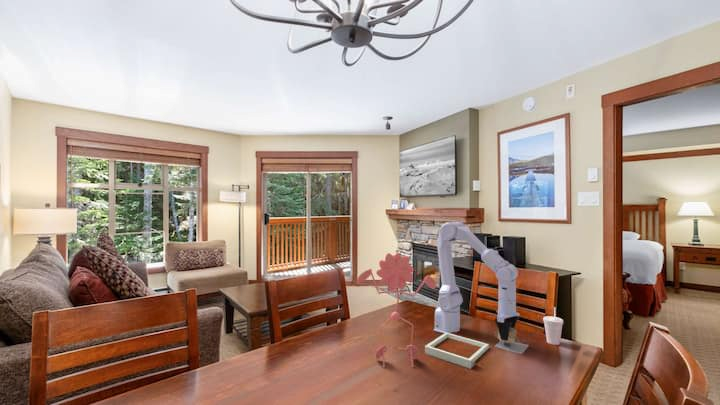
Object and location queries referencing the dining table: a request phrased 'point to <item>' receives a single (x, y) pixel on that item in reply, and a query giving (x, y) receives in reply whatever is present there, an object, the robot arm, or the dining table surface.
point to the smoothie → (553, 328)
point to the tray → (453, 357)
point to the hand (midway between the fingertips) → (507, 337)
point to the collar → (511, 338)
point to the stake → (512, 346)
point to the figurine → (395, 276)
